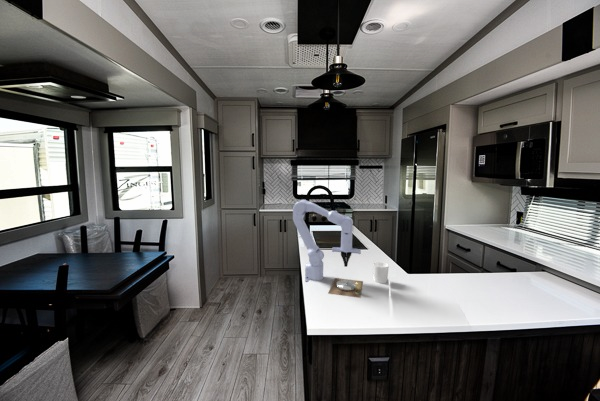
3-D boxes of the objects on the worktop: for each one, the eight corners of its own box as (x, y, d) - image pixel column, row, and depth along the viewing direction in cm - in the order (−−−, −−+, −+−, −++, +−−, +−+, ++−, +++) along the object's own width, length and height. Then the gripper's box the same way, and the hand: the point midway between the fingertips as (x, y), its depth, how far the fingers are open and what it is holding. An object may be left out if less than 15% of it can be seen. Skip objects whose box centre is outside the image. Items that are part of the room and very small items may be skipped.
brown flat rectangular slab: (328, 295, 130) (328, 292, 130) (334, 280, 149) (334, 276, 148) (360, 300, 126) (360, 296, 126) (363, 283, 144) (363, 280, 144)
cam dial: (332, 285, 139) (332, 274, 138) (347, 280, 144) (348, 271, 143) (351, 296, 126) (351, 285, 126) (367, 292, 131) (368, 281, 131)
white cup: (370, 284, 144) (371, 265, 142) (374, 278, 150) (374, 260, 149) (386, 287, 140) (387, 268, 139) (389, 281, 147) (389, 263, 146)
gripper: (331, 241, 140) (330, 267, 141) (360, 243, 136) (359, 270, 138) (333, 238, 146) (332, 262, 148) (361, 240, 143) (360, 265, 145)
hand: (345, 266), depth 143 cm, fingers closed
